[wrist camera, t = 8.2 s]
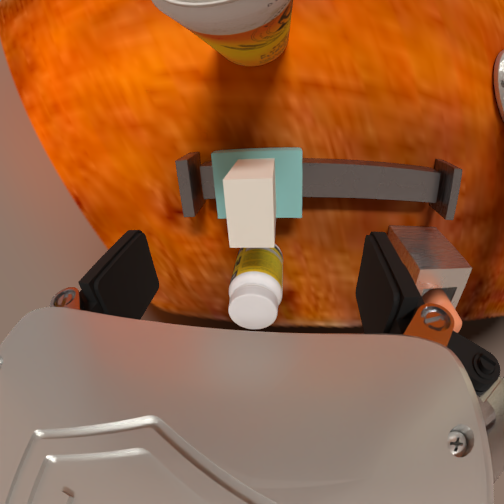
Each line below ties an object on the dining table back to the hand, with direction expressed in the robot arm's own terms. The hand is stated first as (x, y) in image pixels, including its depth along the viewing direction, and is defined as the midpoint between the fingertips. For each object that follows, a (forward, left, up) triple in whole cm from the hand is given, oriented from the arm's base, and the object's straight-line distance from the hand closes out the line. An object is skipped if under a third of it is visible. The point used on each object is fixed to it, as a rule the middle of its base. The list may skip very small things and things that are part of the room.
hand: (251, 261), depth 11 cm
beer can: (+1, -13, -15) cm, 20 cm away
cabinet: (-15, +9, -15) cm, 23 cm away
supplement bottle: (+1, +9, -15) cm, 18 cm away
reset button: (-15, +9, -8) cm, 19 cm away
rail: (-5, 0, -15) cm, 16 cm away
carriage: (+1, 0, -15) cm, 15 cm away
